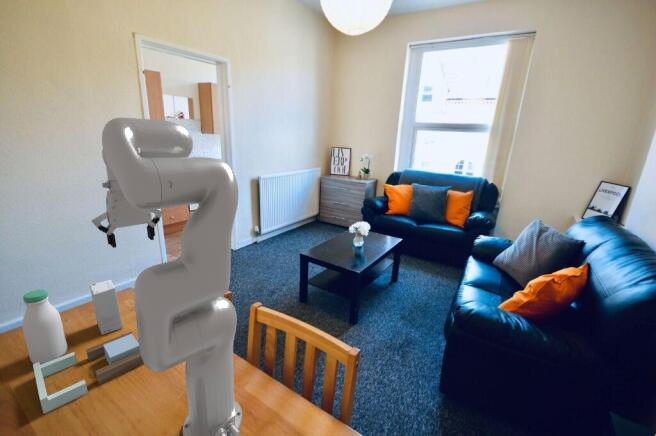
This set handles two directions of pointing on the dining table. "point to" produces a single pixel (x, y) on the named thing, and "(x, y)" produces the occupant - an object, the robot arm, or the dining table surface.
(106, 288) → the skincare box
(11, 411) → the dining table surface
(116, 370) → the brown parallel rails
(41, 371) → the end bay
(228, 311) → the robot arm
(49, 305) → the milk bottle
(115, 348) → the block
